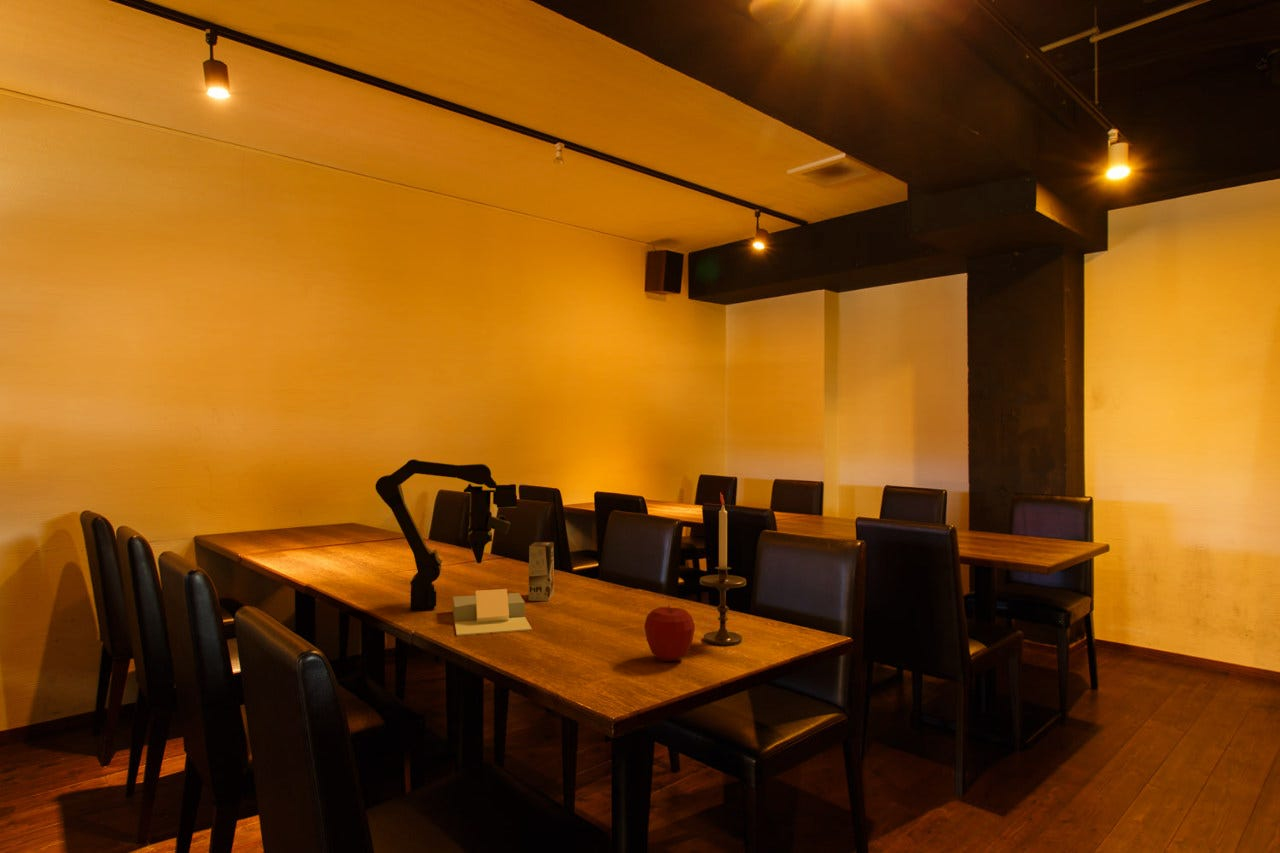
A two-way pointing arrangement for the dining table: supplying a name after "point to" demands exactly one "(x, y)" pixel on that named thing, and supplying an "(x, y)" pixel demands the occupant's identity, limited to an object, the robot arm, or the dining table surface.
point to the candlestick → (722, 587)
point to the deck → (467, 607)
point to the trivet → (492, 605)
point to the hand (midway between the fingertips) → (479, 563)
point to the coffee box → (541, 571)
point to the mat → (492, 626)
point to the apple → (669, 632)
